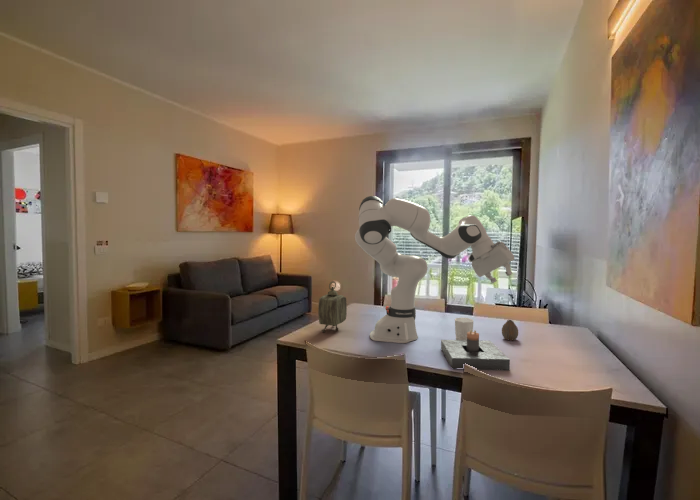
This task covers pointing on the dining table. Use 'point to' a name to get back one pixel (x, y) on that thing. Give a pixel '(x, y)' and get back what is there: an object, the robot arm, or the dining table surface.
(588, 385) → the dining table surface
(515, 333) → the brown textured egg shape
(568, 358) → the dining table surface
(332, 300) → the tabletop clock
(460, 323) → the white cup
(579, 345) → the dining table surface
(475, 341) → the plug
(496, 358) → the socket block
